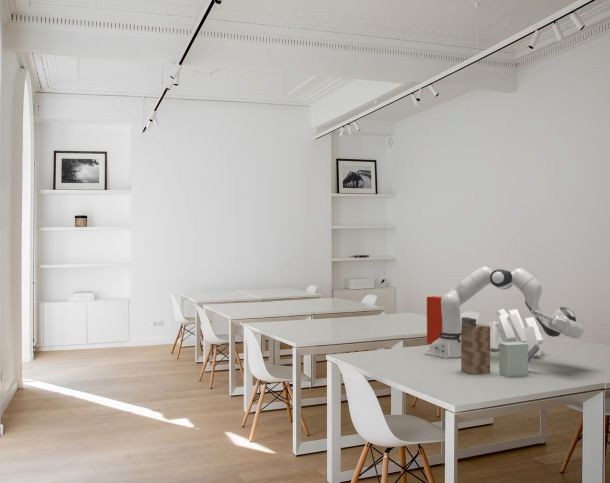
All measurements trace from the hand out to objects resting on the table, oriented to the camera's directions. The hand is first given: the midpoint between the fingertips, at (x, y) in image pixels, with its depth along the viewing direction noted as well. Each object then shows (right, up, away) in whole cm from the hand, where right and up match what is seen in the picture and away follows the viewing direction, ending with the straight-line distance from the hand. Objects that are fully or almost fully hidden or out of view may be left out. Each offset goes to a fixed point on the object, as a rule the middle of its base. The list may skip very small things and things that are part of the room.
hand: (537, 314), depth 310 cm
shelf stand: (-32, -31, +2) cm, 45 cm away
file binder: (-33, -31, +82) cm, 94 cm away
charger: (-3, -24, +3) cm, 24 cm away
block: (-14, -32, -4) cm, 35 cm away
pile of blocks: (+8, -32, +55) cm, 64 cm away
